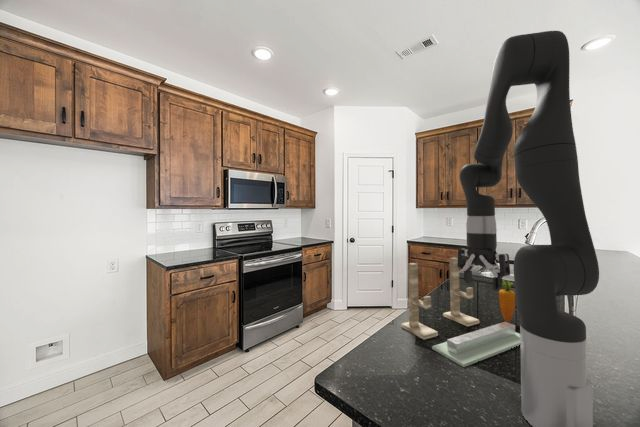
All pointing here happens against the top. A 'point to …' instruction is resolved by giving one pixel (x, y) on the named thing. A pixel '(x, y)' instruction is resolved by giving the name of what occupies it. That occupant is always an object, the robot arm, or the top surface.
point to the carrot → (507, 301)
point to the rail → (480, 338)
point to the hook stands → (414, 303)
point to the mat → (479, 350)
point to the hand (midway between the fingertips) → (482, 286)
